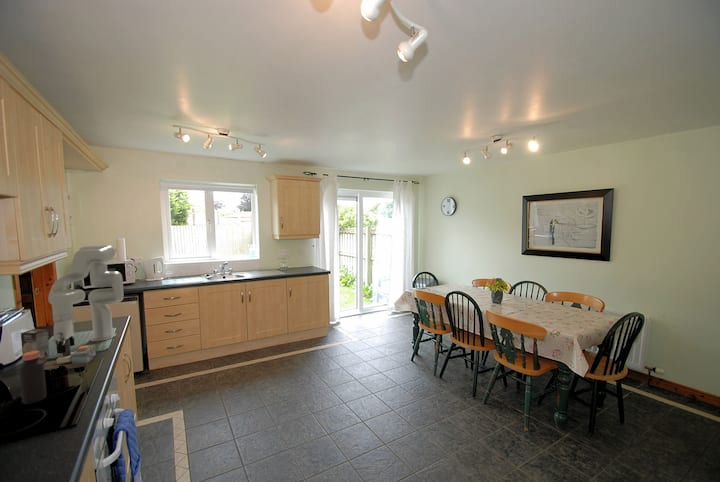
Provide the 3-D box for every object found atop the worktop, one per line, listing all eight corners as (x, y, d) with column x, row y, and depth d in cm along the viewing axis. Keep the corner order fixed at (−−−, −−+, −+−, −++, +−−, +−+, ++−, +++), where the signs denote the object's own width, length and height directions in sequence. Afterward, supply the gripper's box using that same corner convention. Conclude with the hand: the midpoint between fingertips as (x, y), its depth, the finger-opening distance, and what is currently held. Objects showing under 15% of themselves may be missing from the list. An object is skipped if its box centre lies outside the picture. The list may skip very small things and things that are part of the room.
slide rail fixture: (41, 365, 158) (40, 352, 158) (96, 356, 168) (95, 344, 167) (28, 375, 147) (26, 361, 147) (87, 365, 157) (86, 352, 156)
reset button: (81, 351, 161) (80, 346, 161) (89, 350, 163) (88, 345, 163) (78, 354, 158) (78, 348, 158) (86, 353, 160) (86, 347, 160)
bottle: (31, 405, 122) (26, 357, 121) (18, 403, 124) (13, 356, 122) (51, 396, 129) (47, 350, 128) (38, 394, 130) (34, 349, 129)
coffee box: (22, 362, 162) (19, 333, 161) (36, 357, 169) (33, 328, 168) (37, 362, 161) (34, 333, 160) (50, 357, 168) (48, 329, 167)
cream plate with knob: (64, 357, 160) (62, 338, 160) (76, 355, 162) (75, 336, 162) (56, 363, 153) (55, 343, 153) (69, 361, 155) (68, 342, 155)
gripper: (62, 313, 163) (64, 344, 164) (44, 323, 147) (47, 357, 148) (80, 311, 166) (82, 342, 167) (65, 320, 150) (67, 354, 151)
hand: (66, 349), depth 157 cm, fingers open, 9 cm apart
